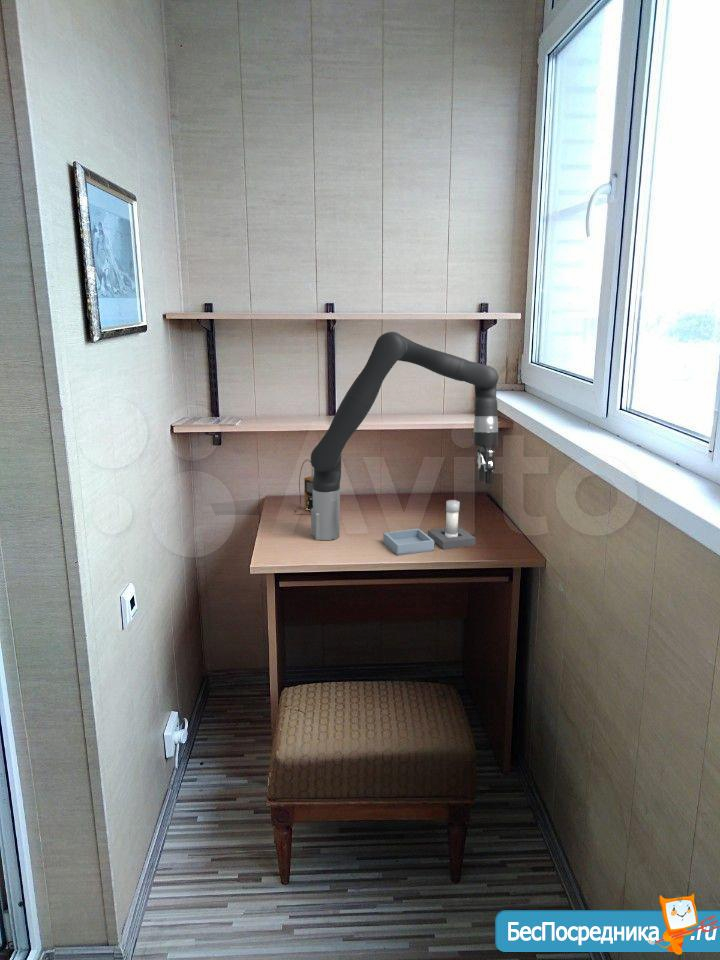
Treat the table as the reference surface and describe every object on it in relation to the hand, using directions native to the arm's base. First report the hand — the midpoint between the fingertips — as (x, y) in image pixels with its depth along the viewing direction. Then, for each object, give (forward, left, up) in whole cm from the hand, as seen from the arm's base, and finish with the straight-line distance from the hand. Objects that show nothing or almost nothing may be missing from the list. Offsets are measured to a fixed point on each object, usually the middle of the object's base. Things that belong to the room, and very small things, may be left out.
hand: (485, 482), depth 213 cm
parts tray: (-20, +14, -24) cm, 34 cm away
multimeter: (-43, +57, -25) cm, 75 cm away
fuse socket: (-4, +14, -24) cm, 28 cm away
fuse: (-4, +14, -24) cm, 28 cm away
